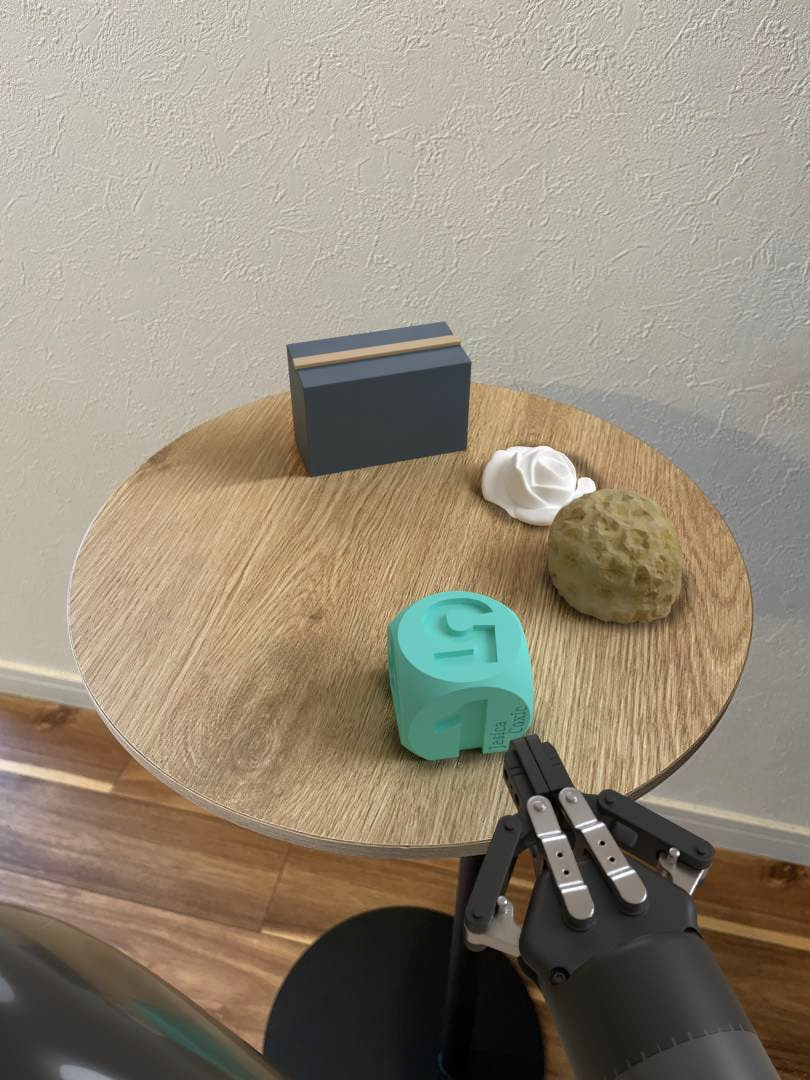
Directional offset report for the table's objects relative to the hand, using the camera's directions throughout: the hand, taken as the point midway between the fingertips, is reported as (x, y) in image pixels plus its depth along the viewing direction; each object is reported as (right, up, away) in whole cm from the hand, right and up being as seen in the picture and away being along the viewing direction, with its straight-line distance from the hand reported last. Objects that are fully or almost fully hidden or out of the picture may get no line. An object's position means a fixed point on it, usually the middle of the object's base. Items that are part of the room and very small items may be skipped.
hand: (520, 746), depth 51 cm
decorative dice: (-3, -1, +13) cm, 14 cm away
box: (-8, +19, +35) cm, 41 cm away
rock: (+9, +7, +22) cm, 25 cm away
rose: (+5, +14, +30) cm, 34 cm away
